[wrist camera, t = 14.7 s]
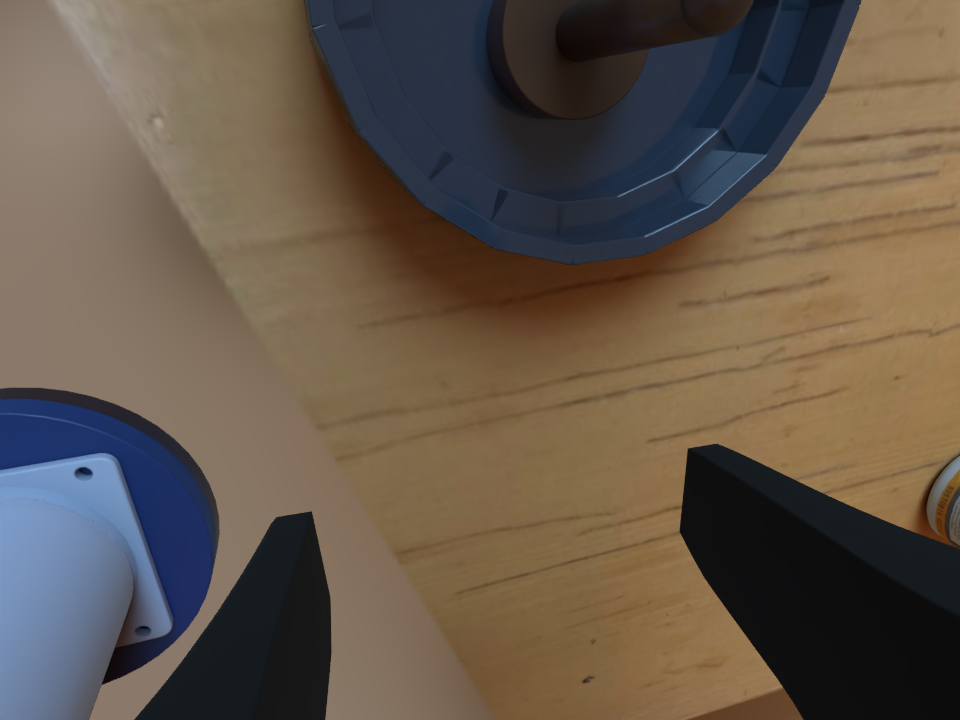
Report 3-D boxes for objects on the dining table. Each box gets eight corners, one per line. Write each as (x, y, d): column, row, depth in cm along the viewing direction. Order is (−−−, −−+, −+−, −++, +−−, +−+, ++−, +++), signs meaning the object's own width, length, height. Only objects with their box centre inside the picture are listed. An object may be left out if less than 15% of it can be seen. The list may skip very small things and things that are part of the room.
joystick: (502, 134, 19) (635, 148, 11) (471, -33, 17) (606, -151, 9) (632, 101, 19) (842, 94, 12) (617, -62, 17) (853, -195, 10)
